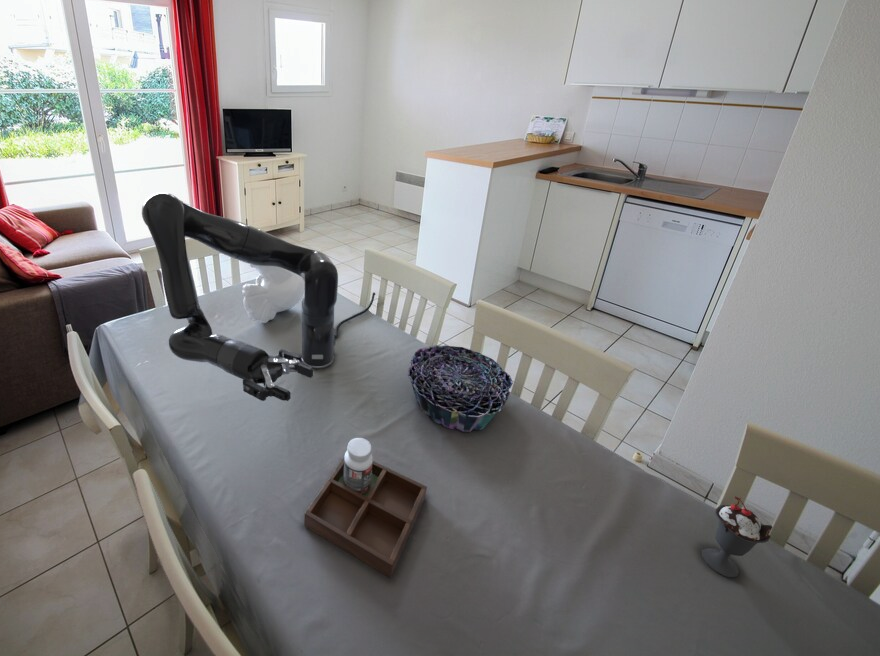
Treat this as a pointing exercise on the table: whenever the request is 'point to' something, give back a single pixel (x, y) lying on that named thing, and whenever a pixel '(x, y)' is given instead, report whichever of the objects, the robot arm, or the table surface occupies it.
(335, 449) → the table surface
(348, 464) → the pill bottle
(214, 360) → the robot arm
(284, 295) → the decorative rooster
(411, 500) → the grid
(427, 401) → the decorative bowl
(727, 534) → the sundae
